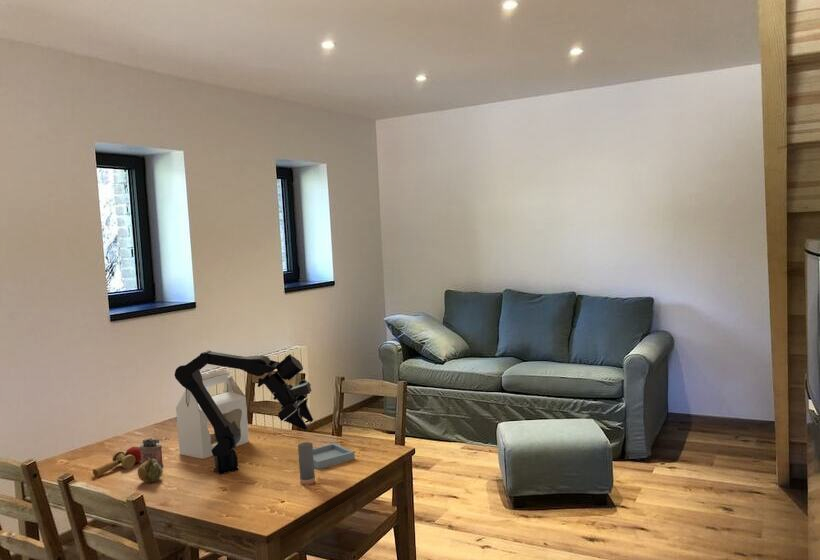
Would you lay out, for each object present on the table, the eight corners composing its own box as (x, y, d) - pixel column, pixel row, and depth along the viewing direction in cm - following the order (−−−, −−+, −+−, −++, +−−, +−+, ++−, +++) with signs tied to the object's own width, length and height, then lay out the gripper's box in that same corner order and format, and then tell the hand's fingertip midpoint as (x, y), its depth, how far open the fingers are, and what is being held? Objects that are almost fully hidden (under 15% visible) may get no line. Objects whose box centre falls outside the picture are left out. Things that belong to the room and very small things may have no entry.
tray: (318, 469, 221) (317, 461, 220) (298, 459, 232) (298, 452, 232) (354, 459, 229) (354, 451, 229) (334, 449, 240) (333, 442, 240)
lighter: (139, 468, 232) (136, 440, 231) (145, 465, 235) (142, 437, 234) (159, 469, 230) (157, 440, 229) (165, 465, 233) (163, 437, 232)
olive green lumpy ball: (167, 476, 223) (166, 452, 222) (158, 485, 215) (156, 460, 214) (145, 476, 223) (143, 453, 222) (134, 486, 215) (132, 461, 214)
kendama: (105, 483, 223) (150, 458, 238) (99, 465, 223) (145, 442, 238) (92, 483, 228) (137, 459, 242) (86, 466, 227) (132, 443, 242)
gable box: (202, 459, 238) (196, 381, 236) (178, 454, 245) (172, 378, 243) (249, 441, 256) (244, 369, 254) (226, 437, 263) (220, 366, 261)
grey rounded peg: (304, 486, 206) (301, 448, 205) (297, 482, 210) (294, 444, 209) (318, 482, 209) (315, 444, 208) (311, 478, 213) (308, 441, 212)
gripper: (291, 379, 212) (322, 418, 212) (304, 367, 230) (332, 403, 231) (264, 401, 213) (295, 439, 213) (279, 387, 231) (308, 422, 232)
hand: (309, 425), depth 222 cm, fingers open, 9 cm apart
